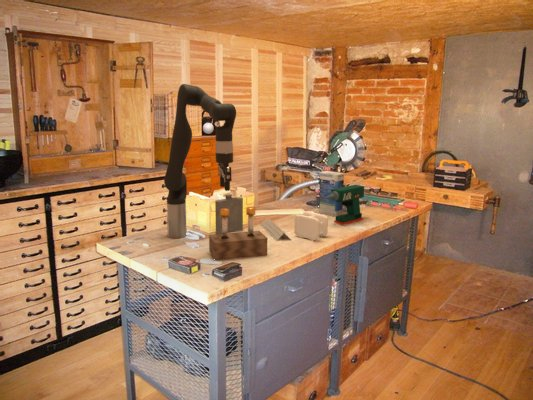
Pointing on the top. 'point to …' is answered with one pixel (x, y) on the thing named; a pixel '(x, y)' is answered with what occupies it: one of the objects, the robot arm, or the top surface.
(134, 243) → the top surface
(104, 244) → the top surface
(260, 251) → the block
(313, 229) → the beige rounded block
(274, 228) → the corner bead
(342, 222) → the power tool
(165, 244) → the top surface
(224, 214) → the near plunger
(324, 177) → the string lights box
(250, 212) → the far plunger
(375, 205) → the top surface
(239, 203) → the hip flask
